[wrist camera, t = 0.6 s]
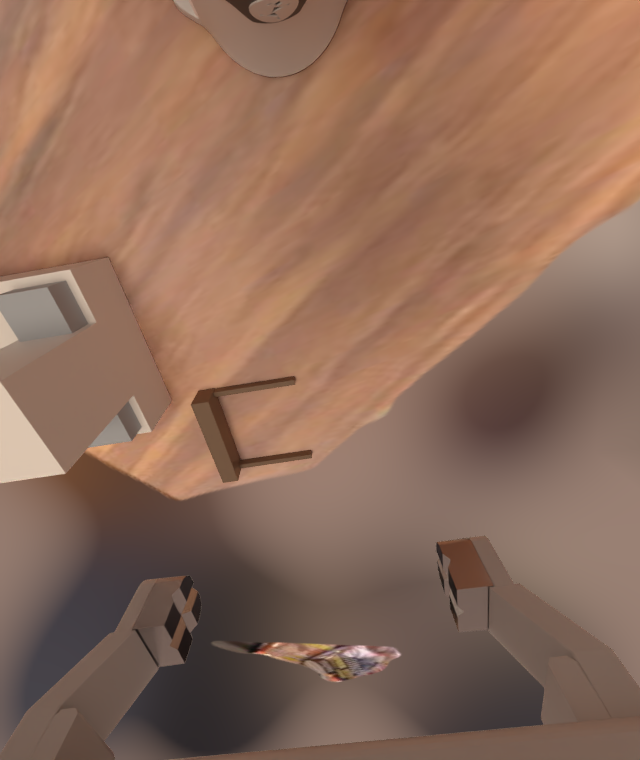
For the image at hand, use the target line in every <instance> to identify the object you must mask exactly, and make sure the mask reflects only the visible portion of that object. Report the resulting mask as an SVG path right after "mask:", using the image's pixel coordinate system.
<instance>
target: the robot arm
mask: <svg viewBox="0 0 640 760" xmlns="http://www.w3.org/2000/svg"><path fill="white" fill-rule="evenodd" d="M173 1H174V3H175V5H176V7H177V8H178V10H179V11H180V12H181V13H183V14H184V15H185V16H187V17H188V18H190V19H191V20H193V21H195V22H196V23H198V24H200V25H202V26H203V27H205V28H206V29H207V30H208V31H209V33H210V34H211V35H212V36H213V37H214V39H215V40H216V41H217V43H218V44H219V45H220V47H221V48H222V49H223V50H224V51H225V52H226V53H227V54H228V55H229V56H230V57H231V58H232V59H233V60H234V61H235V62H237V63H238V64H239V65H241V66H242V67H244V68H245V69H247V70H249V71H251V72H254V73H256V74H259V75H263V76H268V77H283V76H288V75H292V74H295V73H297V72H299V71H301V70H303V69H305V68H306V67H308V66H309V65H310V64H312V63H313V62H314V61H315V60H316V59H317V58H318V57H319V56H320V55H321V54H322V52H323V51H324V50H325V49H326V47H327V46H328V44H329V42H330V41H331V39H332V37H333V35H334V33H335V31H336V29H337V26H338V24H339V21H340V18H341V15H342V12H343V9H344V7H345V4H346V2H347V0H173ZM436 550H437V553H438V556H439V559H438V561H437V564H438V571H439V576H440V580H441V584H442V587H443V590H444V593H445V595H447V596H448V597H449V598H450V610H451V612H452V615H453V618H454V621H455V623H456V626H457V629H458V631H459V632H468V631H479V630H489V632H490V633H491V634H492V635H493V636H494V637H495V638H496V639H497V640H498V641H499V642H500V643H501V644H502V645H503V646H504V647H505V648H506V649H507V650H508V651H509V652H510V654H512V656H514V658H515V659H516V660H517V661H519V662H520V664H521V665H522V666H523V667H524V668H525V669H526V670H528V672H529V673H530V674H531V675H532V676H534V678H535V679H536V680H537V681H538V682H539V683H541V685H542V686H543V687H544V688H545V691H544V699H543V706H542V714H541V719H542V721H543V723H544V725H538V726H526V727H516V728H506V729H495V730H484V731H474V732H463V733H451V734H441V735H430V736H419V737H409V738H398V739H386V740H375V741H365V742H354V743H344V744H332V745H321V746H310V747H300V748H289V749H278V750H268V751H256V752H247V753H235V754H224V755H213V756H203V757H192V758H181V759H170V760H640V688H639V686H638V685H637V683H636V682H635V681H634V679H633V678H632V676H631V675H630V674H629V672H628V671H627V669H626V668H625V667H624V665H623V664H622V662H621V661H620V660H619V658H618V657H617V655H616V654H615V653H614V651H613V650H612V649H611V648H609V647H608V646H607V645H605V644H604V643H602V642H601V641H600V640H598V639H597V638H595V637H594V636H592V635H591V634H590V633H588V632H587V631H585V630H584V629H582V628H581V627H580V626H578V625H577V624H575V623H574V622H573V621H571V620H570V619H569V618H567V617H566V616H564V615H563V614H562V613H560V612H559V611H557V610H556V609H555V608H553V607H552V606H550V605H549V604H547V603H546V602H545V601H543V600H542V599H540V598H539V597H538V596H536V595H535V594H533V593H532V592H531V591H529V590H528V589H526V588H525V587H523V586H522V585H521V584H514V583H513V581H512V579H511V578H510V576H509V574H508V572H507V571H506V569H505V567H504V566H503V564H502V562H501V560H500V558H499V557H498V555H497V553H496V552H495V550H494V548H493V546H492V544H491V543H490V541H489V539H488V538H487V537H486V536H479V537H472V538H462V539H456V540H448V541H441V542H437V543H436ZM193 583H194V582H193V580H192V578H191V577H190V576H180V577H171V578H160V579H152V580H144V581H143V582H142V583H141V584H140V585H139V587H138V589H137V591H136V593H135V595H134V597H133V598H132V600H131V602H130V604H129V606H128V608H127V610H126V612H125V614H124V616H123V617H122V619H121V621H120V623H119V625H118V627H117V629H116V630H115V632H114V633H110V634H109V635H108V636H106V638H104V639H103V640H102V641H101V642H100V643H99V644H98V645H97V646H96V647H95V648H94V649H93V650H92V651H91V652H89V653H88V654H87V655H86V656H85V657H84V658H83V659H82V660H81V661H80V662H79V663H78V664H77V665H76V666H75V667H73V668H72V669H71V670H70V671H69V672H68V673H67V674H66V675H65V676H64V677H63V678H62V679H61V680H60V681H59V682H57V683H56V684H55V685H54V686H53V687H52V688H51V689H50V690H49V691H48V692H47V693H46V694H45V695H44V696H43V697H41V698H40V699H39V700H38V701H37V702H36V703H35V704H34V705H33V706H32V707H31V708H30V709H29V710H28V711H27V712H26V714H25V715H24V717H23V718H22V720H21V722H20V723H19V725H18V726H17V728H16V729H15V731H14V733H13V734H12V736H11V737H10V739H9V741H8V742H7V744H6V745H5V747H4V749H3V750H2V752H1V753H0V760H115V757H114V753H113V751H112V750H111V749H110V748H109V747H108V746H107V744H106V743H105V742H104V741H105V739H106V738H107V737H108V736H109V734H110V733H111V732H112V730H113V729H114V728H115V726H116V725H117V724H118V722H119V721H120V720H121V718H122V717H123V716H124V714H125V713H126V712H127V710H128V709H129V708H130V706H131V705H132V704H133V702H134V701H135V700H136V698H137V697H138V696H139V694H140V693H141V692H142V690H143V689H144V687H145V686H146V685H147V684H148V682H149V681H150V680H151V678H152V677H153V676H154V674H155V673H156V672H157V670H158V667H162V666H169V665H176V664H183V663H185V661H186V658H187V655H188V652H189V649H190V646H191V643H192V640H193V639H192V636H191V631H192V630H193V628H194V627H195V626H196V625H197V624H198V621H199V618H200V613H201V598H200V595H199V593H198V591H196V590H195V589H193V588H192V586H193Z"/></svg>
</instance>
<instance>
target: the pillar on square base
mask: <svg viewBox="0 0 640 760" xmlns="http://www.w3.org/2000/svg"><path fill="white" fill-rule="evenodd" d="M171 401H172V400H171V397H170V395H169V393H168V391H167V388H166V386H165V384H164V381H163V379H162V377H161V375H160V372H159V370H158V368H157V366H156V363H155V361H154V359H153V357H152V354H151V352H150V350H149V348H148V345H147V343H146V341H145V339H144V336H143V334H142V332H141V330H140V327H139V325H138V323H137V321H136V318H135V316H134V314H133V312H132V309H131V307H130V305H129V303H128V300H127V298H126V296H125V293H124V291H123V289H122V287H121V284H120V282H119V280H118V278H117V275H116V273H115V271H114V269H113V266H112V264H111V262H110V260H109V257H107V258H101V259H96V260H90V261H85V262H79V263H73V264H68V265H62V266H57V267H51V268H45V269H40V270H34V271H29V272H23V273H17V274H12V275H6V276H1V277H0V483H5V482H12V481H18V480H25V479H32V478H38V477H45V476H52V475H58V474H65V473H66V472H67V471H68V470H69V469H70V468H71V467H72V466H73V464H74V463H75V462H76V461H77V460H78V459H79V458H80V456H81V455H82V454H83V453H84V452H85V451H86V449H87V448H89V447H96V446H102V445H109V444H115V443H122V442H128V441H132V440H133V439H134V437H135V436H136V434H140V433H146V432H152V430H153V429H154V427H155V426H156V424H157V423H158V421H159V420H160V418H161V417H162V415H163V414H164V412H165V411H166V409H167V408H168V406H169V404H170V403H171Z"/></svg>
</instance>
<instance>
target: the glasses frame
mask: <svg viewBox="0 0 640 760" xmlns="http://www.w3.org/2000/svg"><path fill="white" fill-rule="evenodd" d="M289 385H295V377H294V376H293V377H287V378H280V379H274V380H268V381H261V382H255V383H249V384H242V385H236V386H230V387H223V388H217V389H215V388H213V389H207V390H200V391H198V393H197V395H196V396H195V398H194V400H193V402H192V404H191V406H192V409H193V411H194V413H195V416H196V418H197V421H198V423H199V426H200V428H201V430H202V433H203V435H204V438H205V440H206V442H207V445H208V447H209V450H210V452H211V455H212V457H213V459H214V462H215V464H216V467H217V469H218V471H219V474H220V476H221V479H222V481H223V483H224V482H231V481H238V479H239V475H240V471H241V468H246V467H253V466H260V465H267V464H274V463H281V462H288V461H294V460H301V459H308V458H312V453H311V450H307V451H300V452H293V453H287V454H280V455H273V456H266V457H259V458H252V459H246V460H240V457H239V454H238V451H237V449H236V446H235V443H234V440H233V438H232V435H231V432H230V429H229V426H228V424H227V421H226V418H225V415H224V413H223V410H222V407H221V404H220V402H219V399H218V397H219V396H225V395H231V394H238V393H244V392H251V391H257V390H263V389H270V388H276V387H283V386H289Z"/></svg>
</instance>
